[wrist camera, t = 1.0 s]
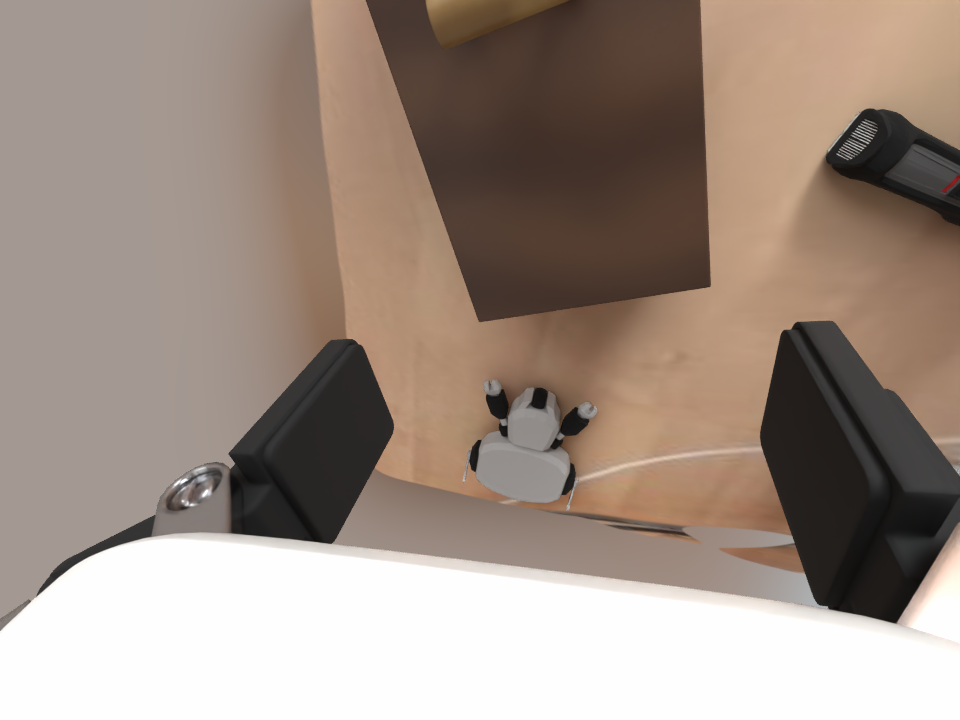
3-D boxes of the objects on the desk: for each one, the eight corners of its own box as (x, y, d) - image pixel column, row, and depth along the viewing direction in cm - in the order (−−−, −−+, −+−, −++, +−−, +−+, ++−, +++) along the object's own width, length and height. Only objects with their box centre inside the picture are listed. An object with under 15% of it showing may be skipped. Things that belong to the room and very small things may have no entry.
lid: (371, -2, 21) (311, -7, 17) (691, -155, 16) (718, -217, 12) (481, 316, 30) (460, 363, 26) (708, 280, 25) (727, 332, 21)
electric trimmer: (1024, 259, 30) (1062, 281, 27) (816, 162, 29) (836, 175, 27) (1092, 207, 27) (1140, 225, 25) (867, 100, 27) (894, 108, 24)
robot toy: (486, 360, 46) (469, 461, 55) (475, 385, 42) (459, 490, 51) (605, 388, 45) (569, 488, 53) (605, 417, 41) (567, 519, 49)
